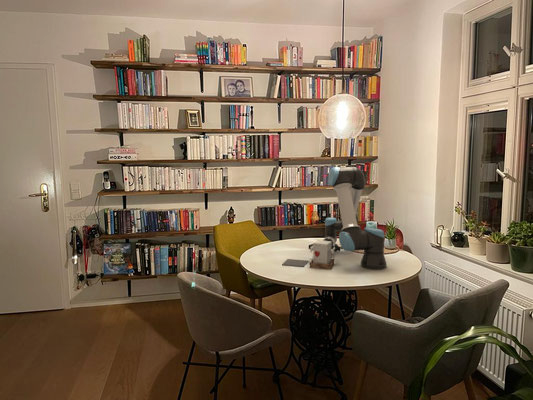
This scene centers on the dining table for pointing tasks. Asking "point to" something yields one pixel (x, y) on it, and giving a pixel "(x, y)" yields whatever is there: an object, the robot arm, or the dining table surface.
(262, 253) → the dining table surface
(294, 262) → the charcoal mat
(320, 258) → the supplement box
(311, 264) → the walnut holder
